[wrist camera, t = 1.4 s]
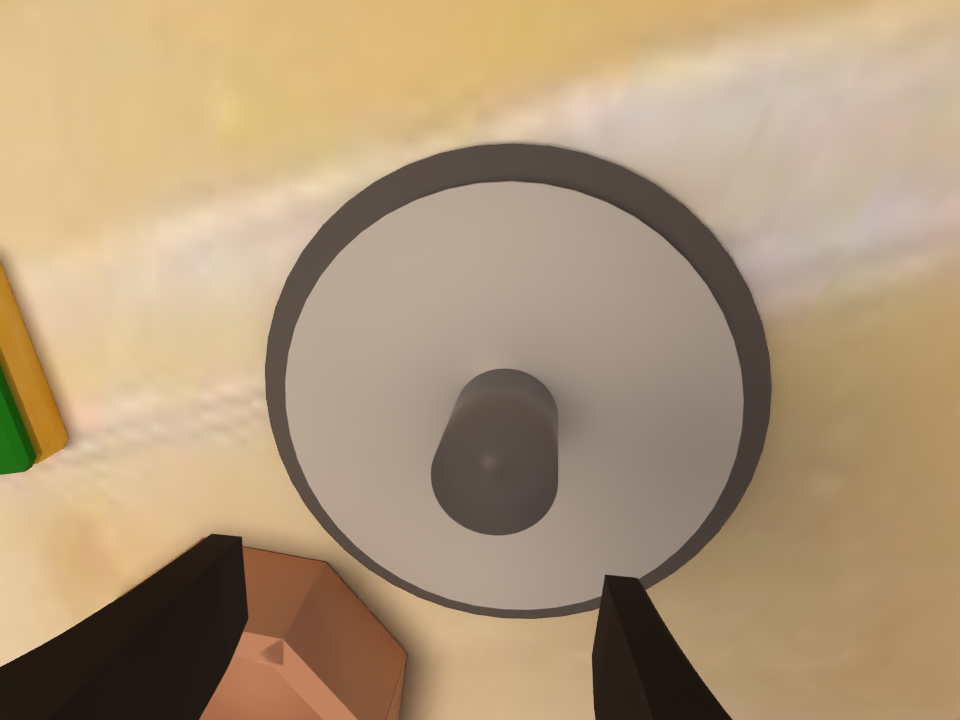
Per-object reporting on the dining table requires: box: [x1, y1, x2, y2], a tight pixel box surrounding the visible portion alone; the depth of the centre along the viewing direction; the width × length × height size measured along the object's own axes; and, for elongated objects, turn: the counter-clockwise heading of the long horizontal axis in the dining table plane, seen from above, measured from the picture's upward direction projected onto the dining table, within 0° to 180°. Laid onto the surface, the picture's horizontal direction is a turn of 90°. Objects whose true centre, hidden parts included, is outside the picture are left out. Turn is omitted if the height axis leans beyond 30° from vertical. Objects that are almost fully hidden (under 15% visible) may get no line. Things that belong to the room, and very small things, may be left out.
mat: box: [265, 144, 771, 619], centre depth 21 cm, size 16×16×1 cm
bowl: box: [117, 539, 407, 720], centre depth 24 cm, size 12×12×4 cm
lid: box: [285, 181, 744, 610], centre depth 19 cm, size 14×14×5 cm
